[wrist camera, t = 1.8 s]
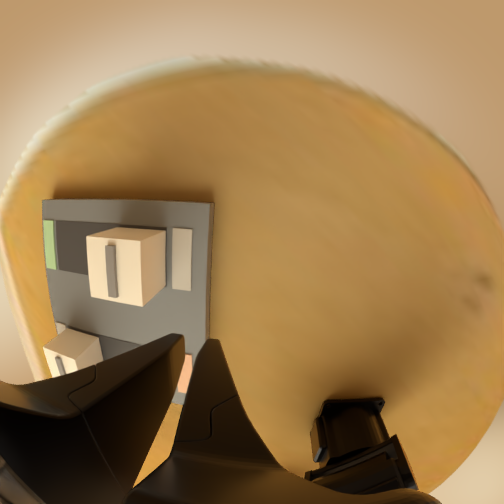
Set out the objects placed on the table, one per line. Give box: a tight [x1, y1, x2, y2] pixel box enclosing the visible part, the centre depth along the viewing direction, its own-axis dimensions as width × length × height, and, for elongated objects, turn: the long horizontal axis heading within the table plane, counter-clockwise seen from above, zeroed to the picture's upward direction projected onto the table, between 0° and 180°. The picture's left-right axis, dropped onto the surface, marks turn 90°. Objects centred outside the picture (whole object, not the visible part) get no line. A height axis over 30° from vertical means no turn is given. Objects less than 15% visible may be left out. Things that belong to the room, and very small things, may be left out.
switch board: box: [42, 199, 214, 405], centre depth 21 cm, size 16×18×2 cm
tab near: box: [86, 227, 166, 307], centre depth 17 cm, size 4×4×4 cm
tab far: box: [43, 328, 103, 377], centre depth 19 cm, size 4×4×4 cm
